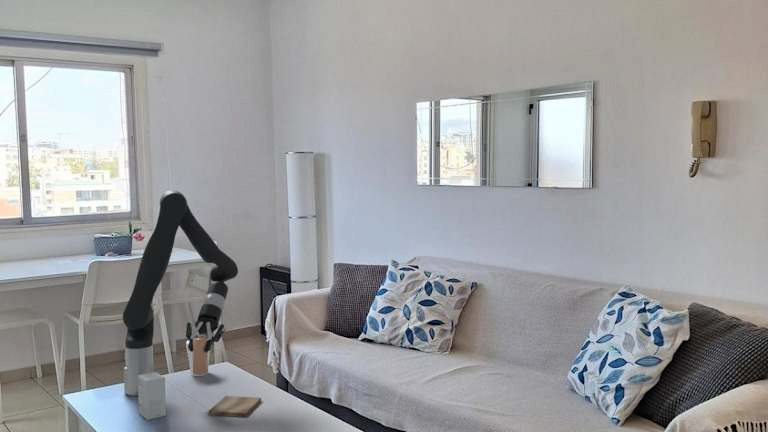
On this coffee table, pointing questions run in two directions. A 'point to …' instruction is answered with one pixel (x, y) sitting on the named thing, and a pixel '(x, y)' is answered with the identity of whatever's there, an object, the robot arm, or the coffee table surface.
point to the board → (235, 406)
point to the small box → (151, 395)
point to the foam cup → (190, 356)
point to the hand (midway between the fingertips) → (198, 350)
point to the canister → (200, 356)
